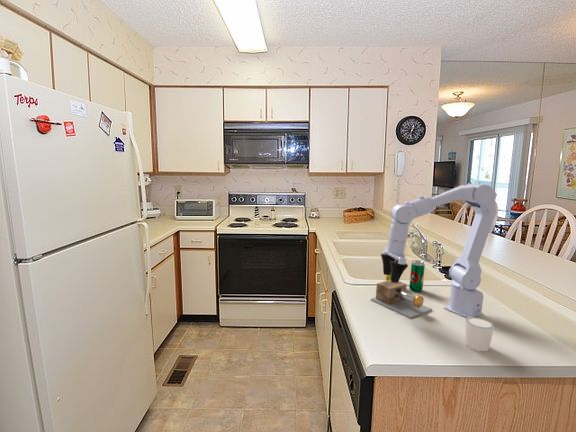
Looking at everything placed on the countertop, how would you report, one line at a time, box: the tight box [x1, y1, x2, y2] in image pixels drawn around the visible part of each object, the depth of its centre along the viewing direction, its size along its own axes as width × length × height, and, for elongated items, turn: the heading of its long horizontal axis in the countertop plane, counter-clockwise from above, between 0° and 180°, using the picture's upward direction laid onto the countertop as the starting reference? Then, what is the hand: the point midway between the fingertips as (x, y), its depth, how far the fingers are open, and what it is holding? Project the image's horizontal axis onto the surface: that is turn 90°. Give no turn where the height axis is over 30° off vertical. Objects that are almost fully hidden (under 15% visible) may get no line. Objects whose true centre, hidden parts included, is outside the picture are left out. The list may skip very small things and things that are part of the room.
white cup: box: [464, 317, 495, 353], centre depth 88 cm, size 7×7×7 cm
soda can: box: [409, 259, 426, 293], centre depth 129 cm, size 5×5×12 cm
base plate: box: [370, 296, 433, 320], centre depth 115 cm, size 17×12×1 cm
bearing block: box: [375, 280, 408, 305], centre depth 118 cm, size 6×9×6 cm, turn 123°
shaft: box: [395, 289, 425, 308], centre depth 112 cm, size 10×4×4 cm, turn 33°
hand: (390, 278), depth 110 cm, fingers open, 7 cm apart
